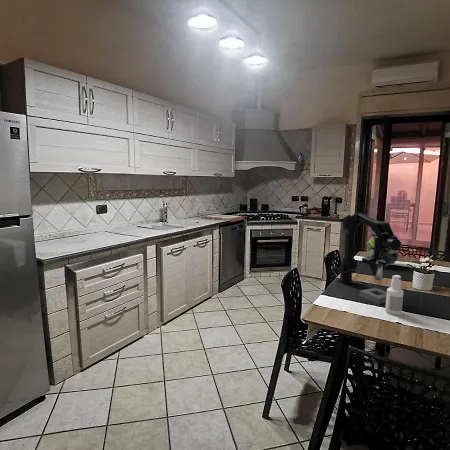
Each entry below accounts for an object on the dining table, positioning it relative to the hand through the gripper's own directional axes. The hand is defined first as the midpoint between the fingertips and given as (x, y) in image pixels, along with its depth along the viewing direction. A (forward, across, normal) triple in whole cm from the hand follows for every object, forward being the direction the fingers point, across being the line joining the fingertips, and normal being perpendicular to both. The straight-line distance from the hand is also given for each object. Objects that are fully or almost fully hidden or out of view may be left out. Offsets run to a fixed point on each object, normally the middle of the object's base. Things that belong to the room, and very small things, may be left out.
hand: (377, 275), depth 164 cm
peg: (+2, 0, 0) cm, 2 cm away
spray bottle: (+13, -7, -16) cm, 22 cm away
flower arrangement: (+13, +59, +46) cm, 76 cm away
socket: (+13, 0, 0) cm, 13 cm away
